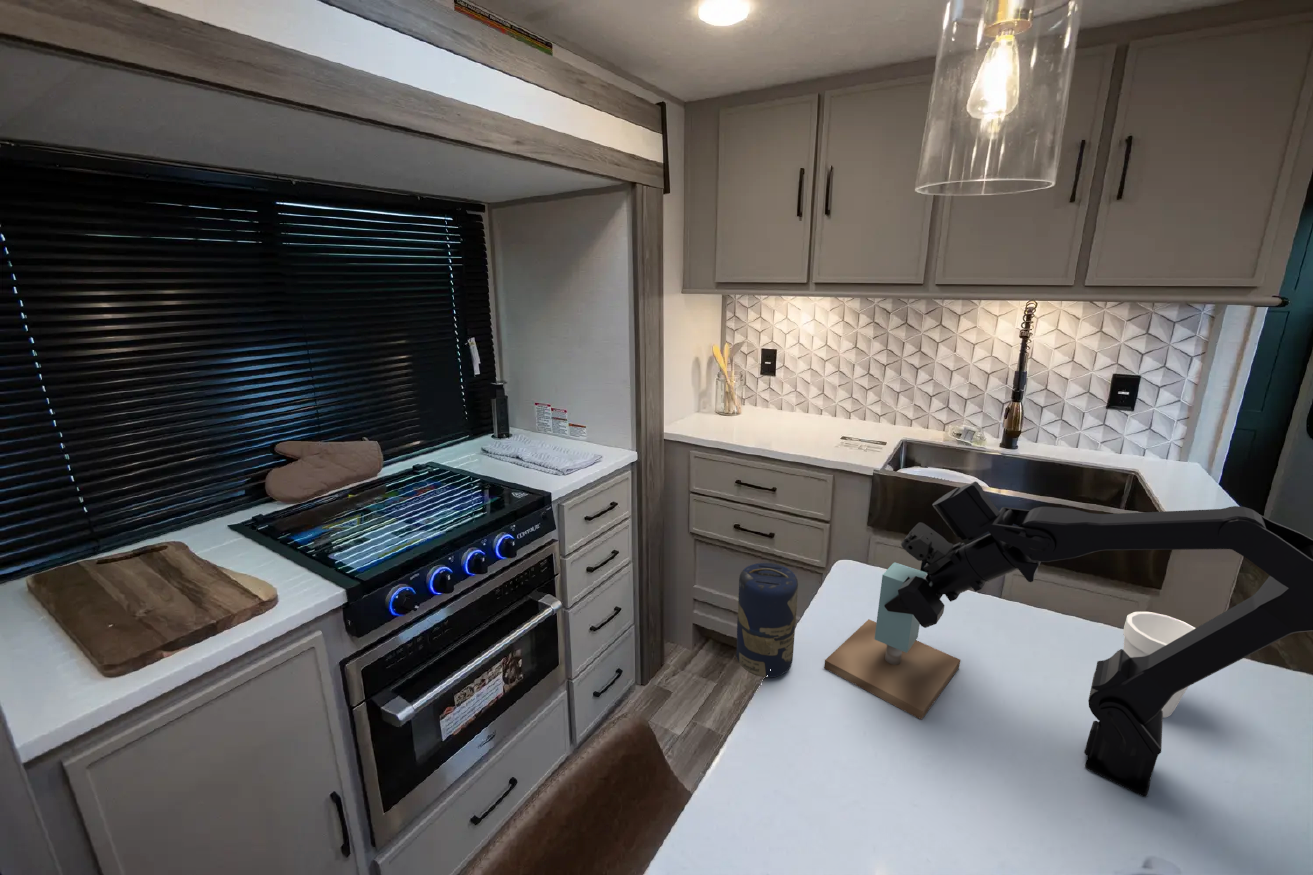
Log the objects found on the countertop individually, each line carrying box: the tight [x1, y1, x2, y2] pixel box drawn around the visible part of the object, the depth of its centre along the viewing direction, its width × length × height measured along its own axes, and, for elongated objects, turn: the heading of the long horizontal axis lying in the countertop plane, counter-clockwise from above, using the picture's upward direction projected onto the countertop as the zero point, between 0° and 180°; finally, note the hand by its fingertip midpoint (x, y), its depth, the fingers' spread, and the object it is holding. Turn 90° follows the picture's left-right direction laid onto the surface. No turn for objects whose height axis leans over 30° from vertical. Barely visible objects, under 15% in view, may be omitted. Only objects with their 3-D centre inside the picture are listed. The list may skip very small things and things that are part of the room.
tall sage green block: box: [874, 562, 927, 653], centre depth 92 cm, size 5×5×12 cm
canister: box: [735, 562, 799, 678], centre depth 94 cm, size 10×10×18 cm
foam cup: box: [1122, 611, 1196, 718], centre depth 86 cm, size 10×9×13 cm
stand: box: [823, 618, 961, 721], centre depth 95 cm, size 16×16×5 cm
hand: (892, 600), depth 93 cm, fingers closed on tall sage green block, 5 cm apart
